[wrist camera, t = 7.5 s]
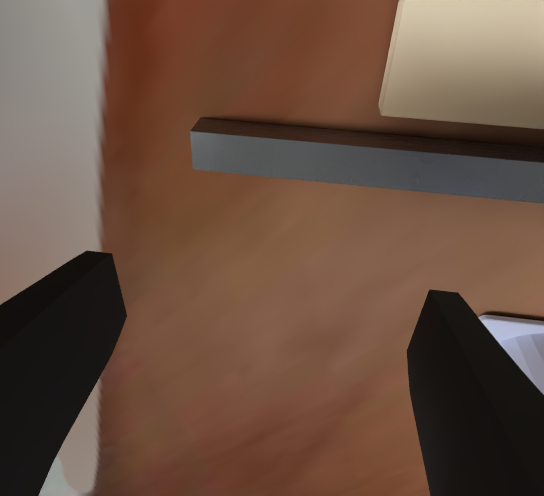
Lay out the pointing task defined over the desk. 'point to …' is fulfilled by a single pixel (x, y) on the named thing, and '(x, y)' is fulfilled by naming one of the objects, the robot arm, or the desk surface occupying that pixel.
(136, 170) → the desk surface
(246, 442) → the desk surface
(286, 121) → the desk surface
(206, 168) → the grey tray
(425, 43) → the clamp jaw
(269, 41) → the desk surface
